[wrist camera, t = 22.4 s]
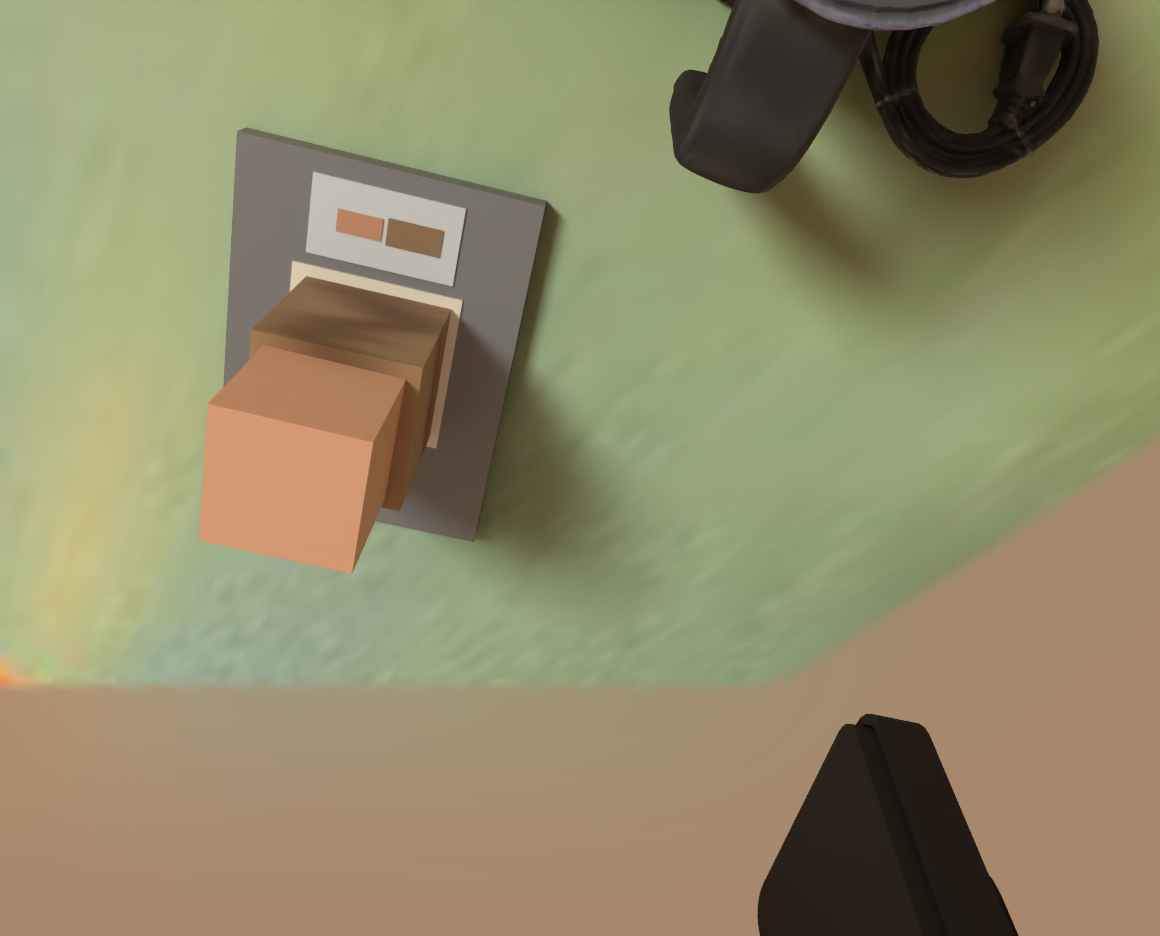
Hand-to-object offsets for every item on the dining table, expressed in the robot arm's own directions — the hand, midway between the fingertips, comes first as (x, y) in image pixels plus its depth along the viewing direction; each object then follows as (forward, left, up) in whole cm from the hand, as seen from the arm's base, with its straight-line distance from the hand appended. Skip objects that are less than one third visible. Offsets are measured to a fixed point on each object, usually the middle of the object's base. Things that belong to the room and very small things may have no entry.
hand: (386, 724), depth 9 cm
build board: (+6, +9, -30) cm, 32 cm away
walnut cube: (+6, +9, -29) cm, 31 cm away
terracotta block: (+6, +9, -23) cm, 25 cm away
